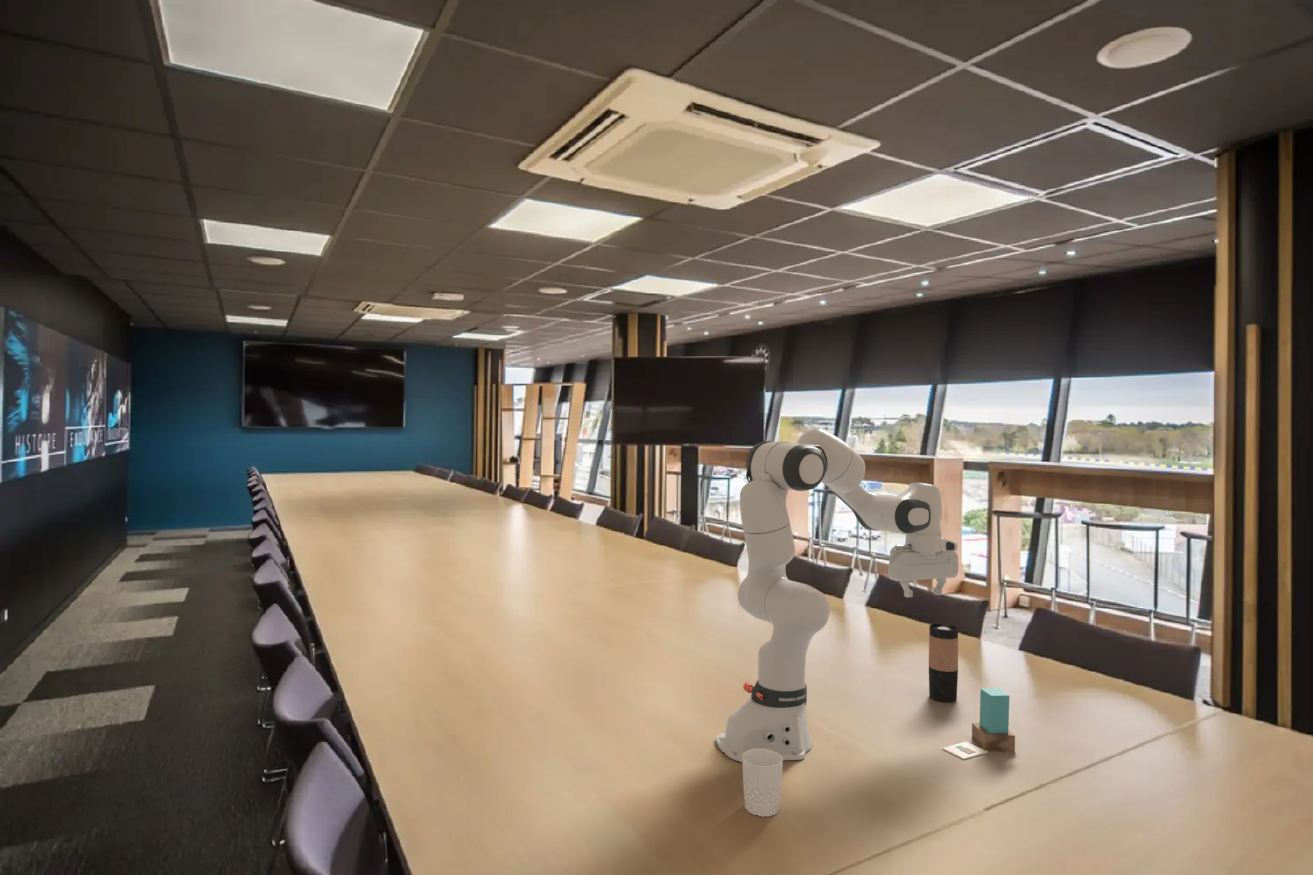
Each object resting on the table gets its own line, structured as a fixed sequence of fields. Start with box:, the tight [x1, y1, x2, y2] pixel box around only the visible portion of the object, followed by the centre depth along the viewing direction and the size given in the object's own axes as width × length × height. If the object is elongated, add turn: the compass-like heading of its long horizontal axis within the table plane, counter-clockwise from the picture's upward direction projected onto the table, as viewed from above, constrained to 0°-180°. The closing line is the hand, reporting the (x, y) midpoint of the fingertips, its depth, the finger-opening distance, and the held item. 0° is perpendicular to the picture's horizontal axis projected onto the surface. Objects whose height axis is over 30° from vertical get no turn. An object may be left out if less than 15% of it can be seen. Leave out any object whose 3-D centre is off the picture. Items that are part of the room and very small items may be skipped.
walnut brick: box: [971, 722, 1016, 752], centre depth 168 cm, size 7×7×4 cm
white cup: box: [741, 749, 784, 818], centre depth 138 cm, size 8×8×10 cm
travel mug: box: [928, 622, 959, 704], centre depth 197 cm, size 8×8×20 cm
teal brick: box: [979, 687, 1010, 734], centre depth 167 cm, size 4×4×9 cm
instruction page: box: [942, 741, 989, 761], centre depth 164 cm, size 8×6×1 cm
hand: (923, 595), depth 187 cm, fingers open, 8 cm apart
